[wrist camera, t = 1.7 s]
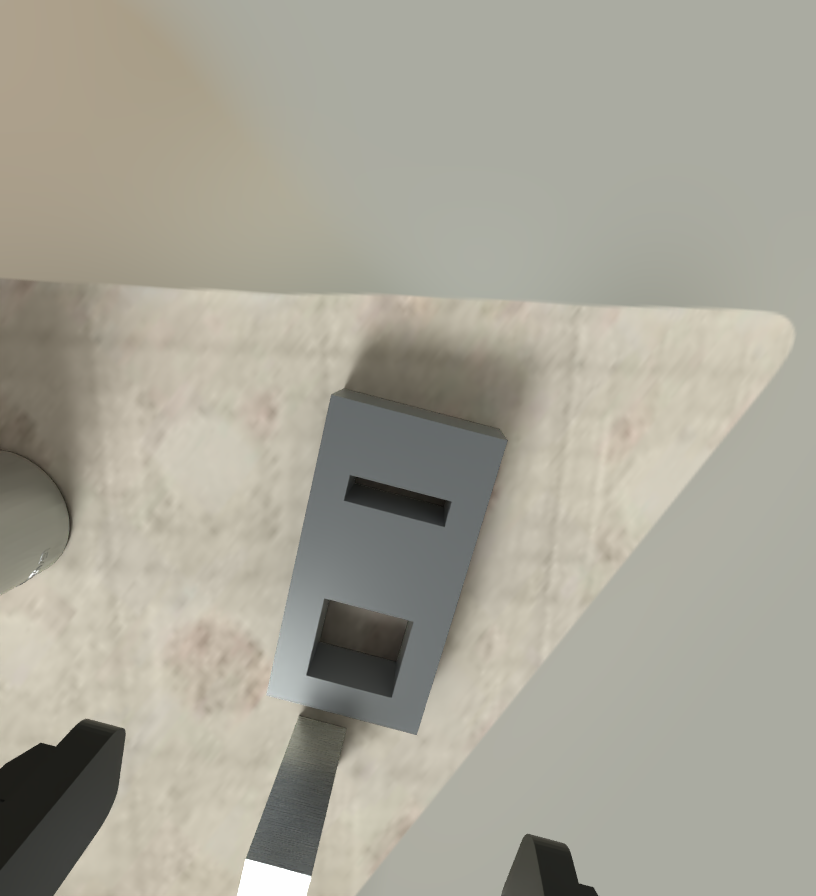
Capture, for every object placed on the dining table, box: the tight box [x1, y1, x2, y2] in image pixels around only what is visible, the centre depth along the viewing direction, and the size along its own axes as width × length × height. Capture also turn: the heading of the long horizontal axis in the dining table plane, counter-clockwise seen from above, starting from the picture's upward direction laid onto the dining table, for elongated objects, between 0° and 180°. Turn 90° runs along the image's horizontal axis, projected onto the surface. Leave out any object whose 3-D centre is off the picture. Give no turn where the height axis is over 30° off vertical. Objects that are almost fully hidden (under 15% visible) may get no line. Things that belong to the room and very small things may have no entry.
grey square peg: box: [238, 716, 346, 896], centre depth 31 cm, size 4×4×10 cm
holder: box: [267, 389, 508, 735], centre depth 30 cm, size 20×10×4 cm, turn 166°
